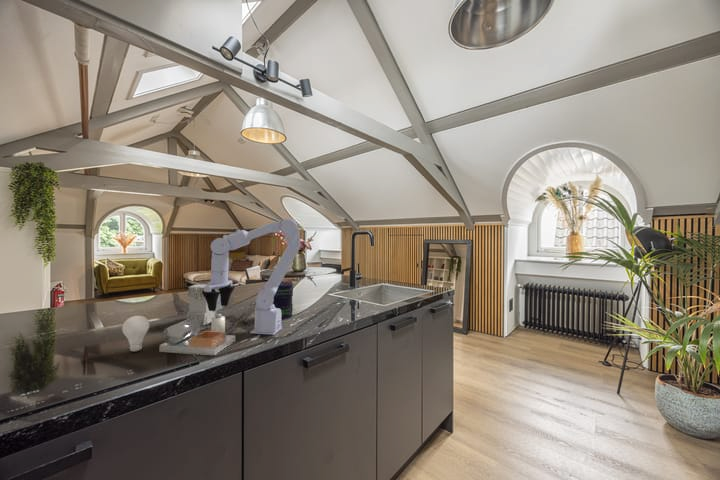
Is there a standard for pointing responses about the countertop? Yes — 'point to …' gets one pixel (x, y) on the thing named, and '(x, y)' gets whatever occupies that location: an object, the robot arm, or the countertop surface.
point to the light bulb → (135, 331)
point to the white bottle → (218, 323)
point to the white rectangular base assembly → (194, 339)
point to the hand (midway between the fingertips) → (218, 308)
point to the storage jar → (284, 299)
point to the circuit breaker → (201, 305)
